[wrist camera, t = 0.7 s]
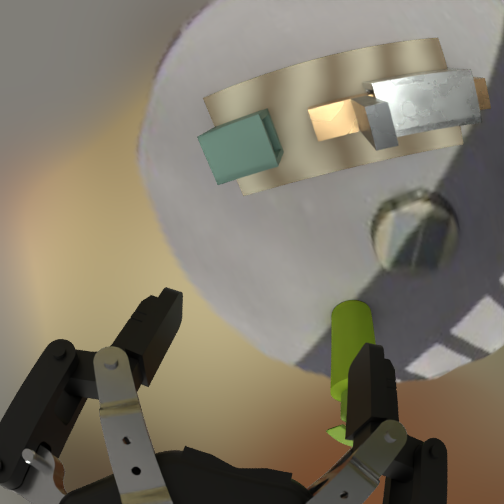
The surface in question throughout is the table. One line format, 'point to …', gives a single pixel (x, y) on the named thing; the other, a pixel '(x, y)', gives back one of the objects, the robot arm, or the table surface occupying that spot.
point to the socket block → (242, 147)
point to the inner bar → (367, 117)
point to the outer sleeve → (428, 99)
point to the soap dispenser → (347, 352)
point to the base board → (320, 91)
